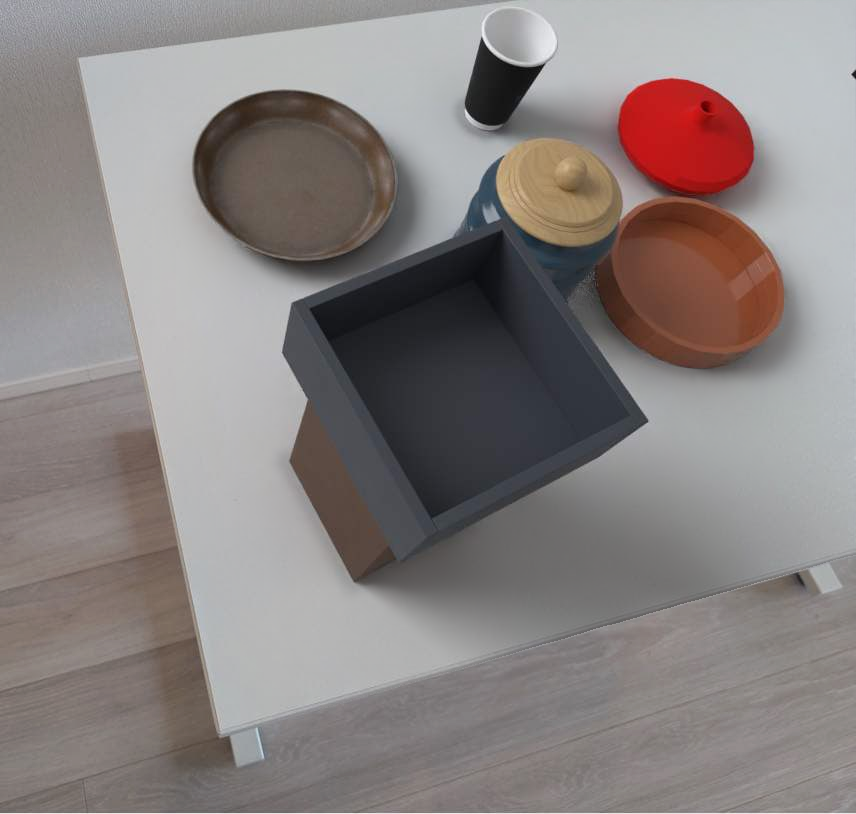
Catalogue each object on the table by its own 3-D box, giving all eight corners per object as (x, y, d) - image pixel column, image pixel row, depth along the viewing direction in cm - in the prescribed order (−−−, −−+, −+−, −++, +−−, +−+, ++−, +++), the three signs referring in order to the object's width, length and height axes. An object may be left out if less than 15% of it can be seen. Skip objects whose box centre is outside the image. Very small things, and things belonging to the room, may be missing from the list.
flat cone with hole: (763, 189, 90) (806, 147, 84) (652, 223, 86) (688, 182, 80) (691, 86, 95) (726, 39, 89) (582, 114, 91) (610, 66, 85)
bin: (496, 530, 71) (649, 421, 46) (345, 611, 66) (426, 538, 42) (409, 384, 75) (506, 215, 51) (261, 452, 71) (291, 302, 46)
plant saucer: (408, 269, 80) (416, 250, 77) (203, 283, 76) (203, 264, 73) (372, 109, 88) (378, 86, 84) (183, 114, 84) (182, 91, 81)
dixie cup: (445, 86, 90) (475, 4, 80) (511, 87, 91) (549, 6, 81) (457, 141, 87) (490, 64, 77) (525, 141, 89) (566, 65, 78)
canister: (434, 223, 83) (489, 98, 66) (551, 225, 85) (633, 104, 68) (451, 334, 78) (515, 228, 62) (575, 333, 80) (669, 230, 63)
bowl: (796, 328, 83) (820, 312, 80) (665, 396, 78) (685, 381, 75) (691, 195, 89) (709, 175, 85) (562, 250, 83) (576, 231, 80)
